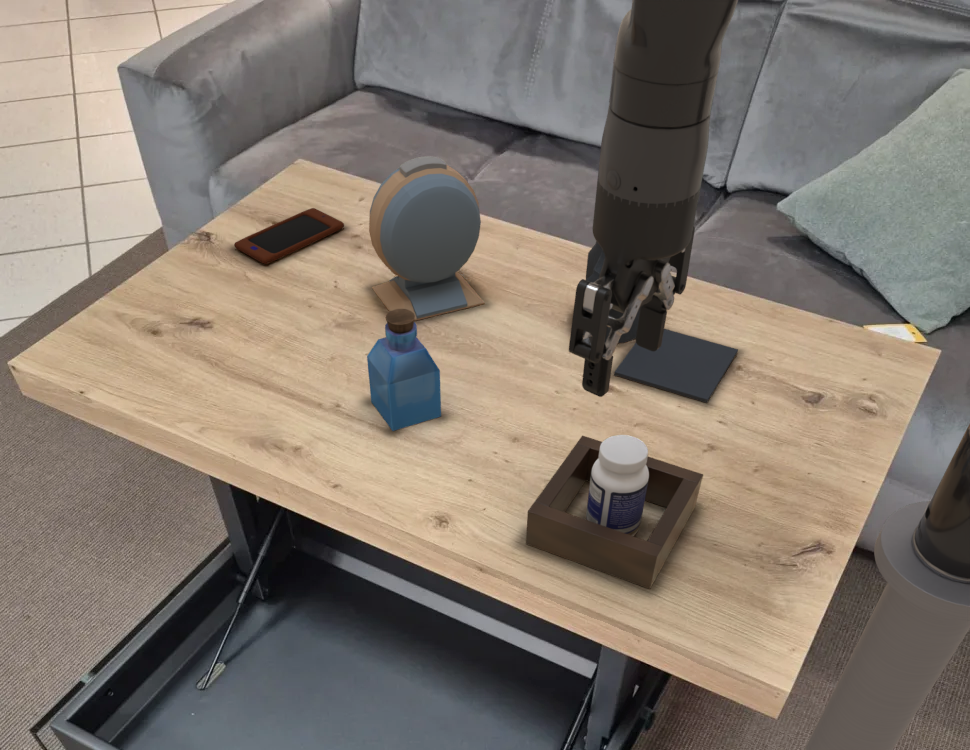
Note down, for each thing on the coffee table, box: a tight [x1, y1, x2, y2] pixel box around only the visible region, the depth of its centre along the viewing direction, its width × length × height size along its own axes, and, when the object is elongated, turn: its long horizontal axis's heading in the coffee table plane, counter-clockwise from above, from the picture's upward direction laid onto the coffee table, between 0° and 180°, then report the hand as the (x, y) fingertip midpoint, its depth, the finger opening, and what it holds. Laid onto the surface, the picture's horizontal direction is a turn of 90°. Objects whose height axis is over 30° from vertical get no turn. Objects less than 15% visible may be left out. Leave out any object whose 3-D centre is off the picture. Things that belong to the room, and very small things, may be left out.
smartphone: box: [233, 207, 345, 265], centre depth 135 cm, size 7×1×15 cm
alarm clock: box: [368, 155, 485, 322], centre depth 119 cm, size 14×10×18 cm
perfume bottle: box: [366, 309, 442, 432], centre depth 106 cm, size 6×6×12 cm
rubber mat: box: [613, 328, 739, 404], centre depth 117 cm, size 12×12×1 cm
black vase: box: [583, 240, 641, 344], centre depth 117 cm, size 12×9×11 cm
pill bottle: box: [585, 434, 649, 537], centre depth 94 cm, size 6×6×10 cm
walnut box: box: [525, 435, 704, 590], centre depth 96 cm, size 14×14×4 cm
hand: (622, 368), depth 80 cm, fingers open, 8 cm apart
